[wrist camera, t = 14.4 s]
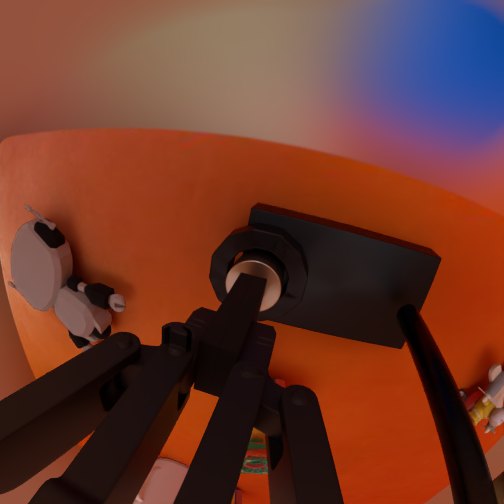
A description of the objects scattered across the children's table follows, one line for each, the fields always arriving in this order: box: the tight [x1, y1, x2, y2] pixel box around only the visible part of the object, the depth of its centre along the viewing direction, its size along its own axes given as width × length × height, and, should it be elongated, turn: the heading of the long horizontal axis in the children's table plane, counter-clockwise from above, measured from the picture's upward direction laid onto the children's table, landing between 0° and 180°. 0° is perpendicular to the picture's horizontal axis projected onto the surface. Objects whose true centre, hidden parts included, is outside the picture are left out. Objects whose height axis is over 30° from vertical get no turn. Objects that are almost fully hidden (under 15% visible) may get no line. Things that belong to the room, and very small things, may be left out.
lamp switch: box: [226, 251, 284, 311], centre depth 18 cm, size 3×3×2 cm
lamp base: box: [209, 203, 441, 349], centre depth 20 cm, size 16×8×4 cm, turn 79°
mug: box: [133, 458, 189, 504], centre depth 33 cm, size 11×9×10 cm
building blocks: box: [231, 378, 286, 504], centre depth 24 cm, size 12×35×14 cm, turn 162°
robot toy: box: [8, 205, 126, 351], centre depth 26 cm, size 12×4×15 cm
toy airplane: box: [460, 364, 504, 434], centre depth 19 cm, size 9×9×6 cm
